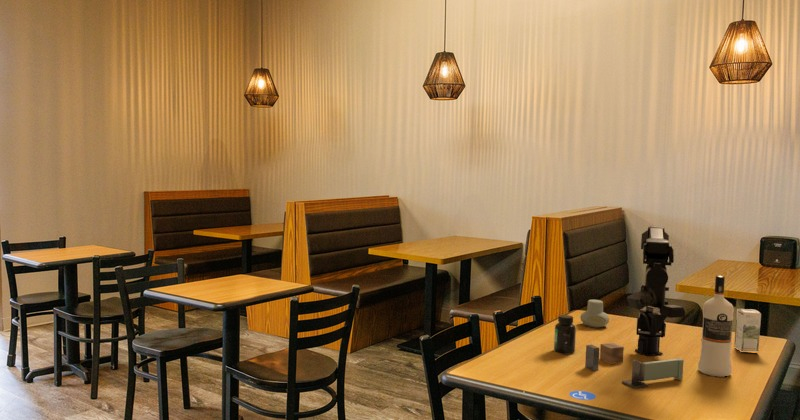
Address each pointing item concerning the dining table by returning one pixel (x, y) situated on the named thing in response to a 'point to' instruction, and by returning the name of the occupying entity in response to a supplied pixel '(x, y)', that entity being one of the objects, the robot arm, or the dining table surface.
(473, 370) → the dining table surface
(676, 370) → the grey slab
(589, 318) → the air freshener
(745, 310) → the syrup box
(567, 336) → the supplement bottle
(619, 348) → the reddish brown cube
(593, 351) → the latch stile
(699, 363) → the vodka
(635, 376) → the hinge post
